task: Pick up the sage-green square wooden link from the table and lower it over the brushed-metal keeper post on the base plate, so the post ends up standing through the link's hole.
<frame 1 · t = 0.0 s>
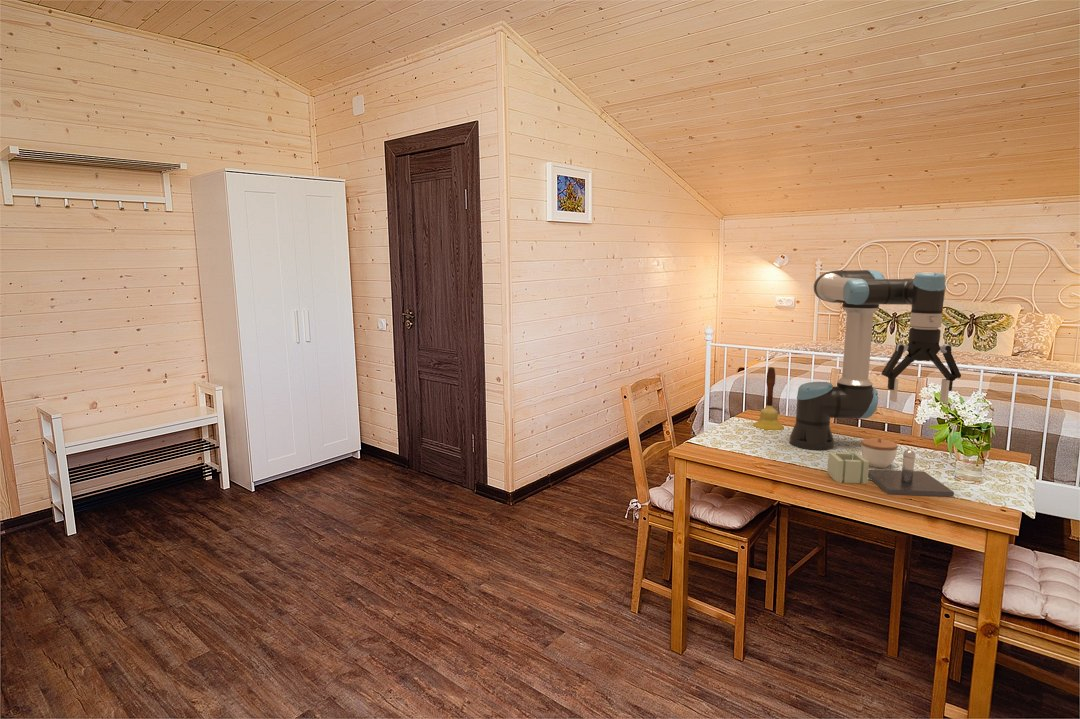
hand: (918, 401, 177), 28 cm above the table, tool pointing down, fingers open, 13 cm apart
square link: (846, 478, 195), on the table
lidded jar: (877, 465, 208), on the table
handbell: (768, 427, 256), on the table
keeper base: (906, 484, 189), on the table
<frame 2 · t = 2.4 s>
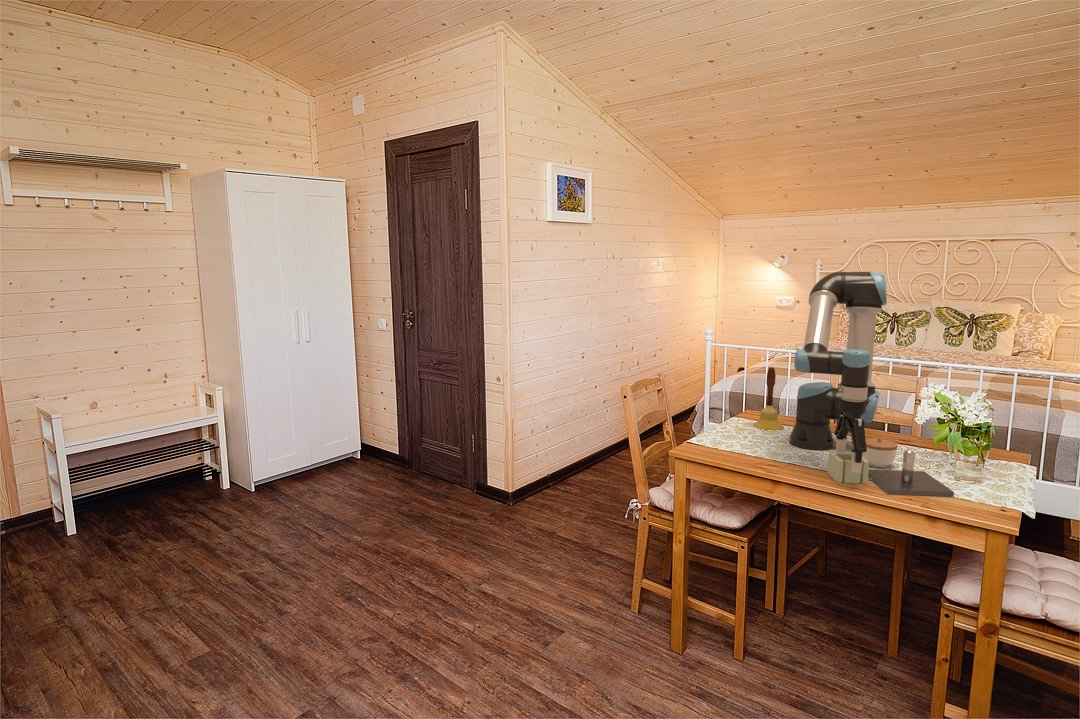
hand: (847, 465, 194), 4 cm above the table, tool pointing down, fingers open, 13 cm apart
nothing on the table moved.
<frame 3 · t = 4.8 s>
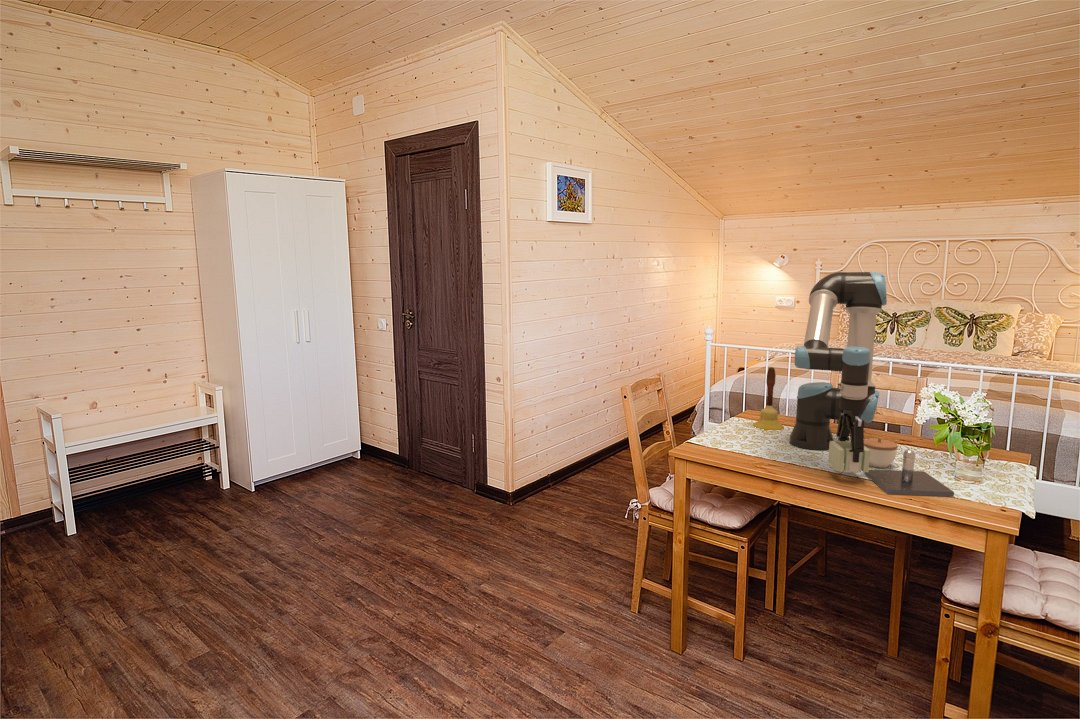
hand: (847, 465, 195), 4 cm above the table, tool pointing down, fingers closed on square link, 9 cm apart
square link: (847, 466, 195), point 4 cm above the table, touching gripper
everything else where it was.
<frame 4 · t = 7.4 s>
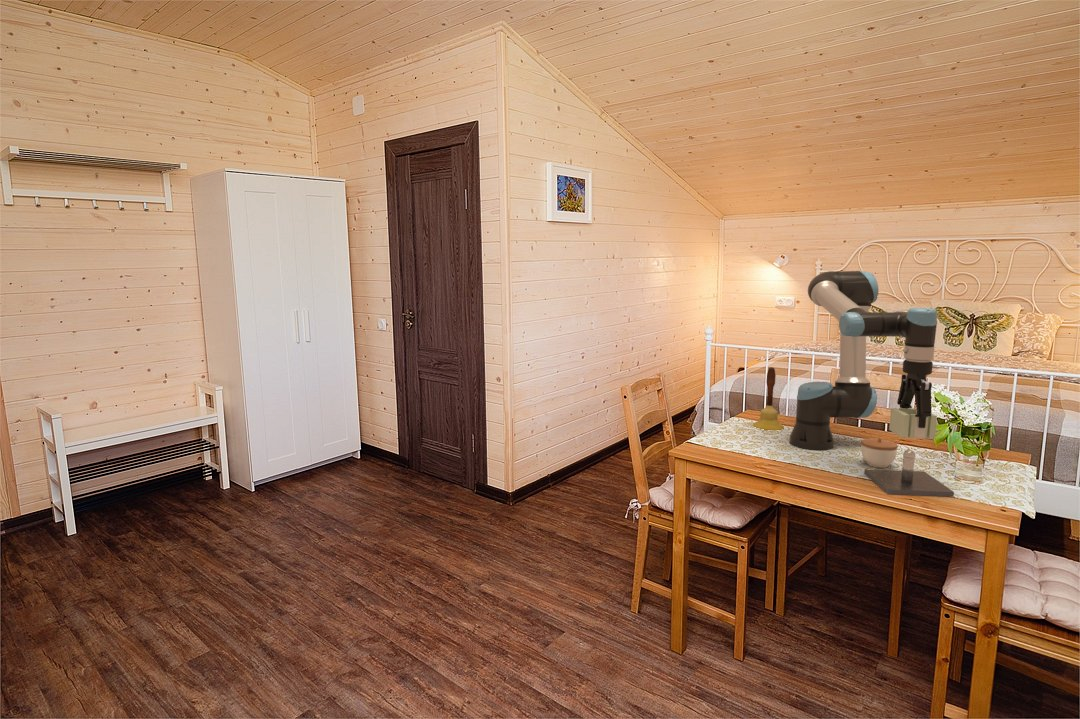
hand: (911, 433, 187), 16 cm above the table, tool pointing down, fingers closed on square link, 9 cm apart
square link: (911, 434, 187), point 16 cm above the table, touching gripper
everything else where it was.
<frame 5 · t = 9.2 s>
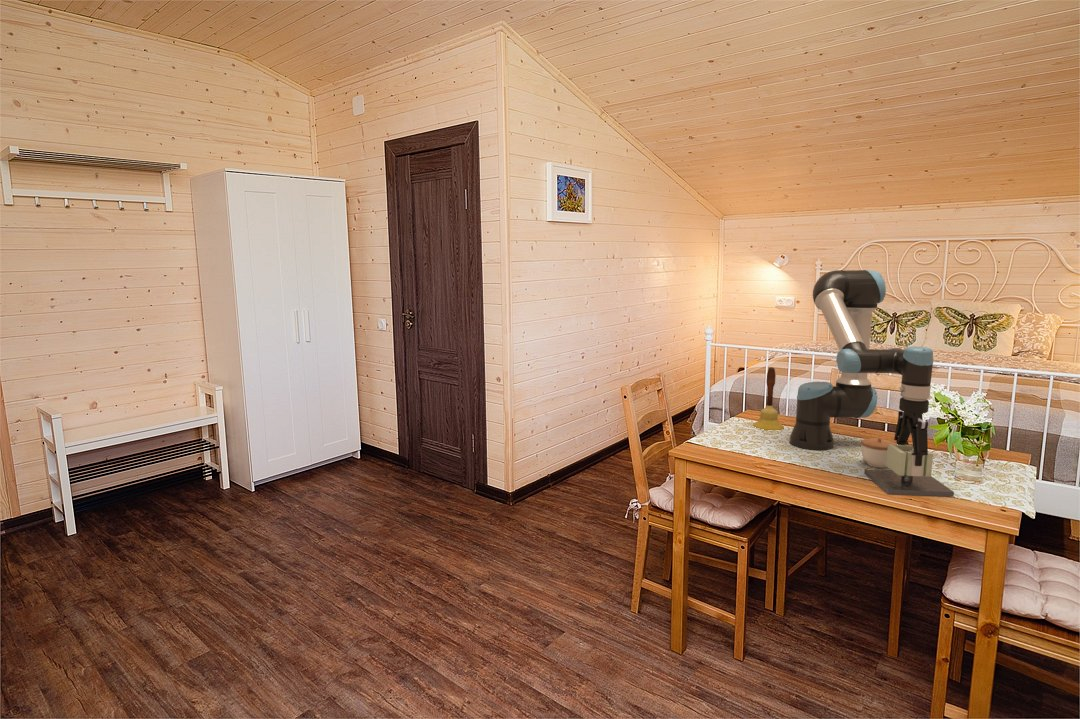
hand: (908, 470, 188), 5 cm above the table, tool pointing down, fingers closed on square link, 9 cm apart
square link: (907, 471, 188), point 4 cm above the table, touching gripper
everything else where it was.
when the fingers open (3 cm above the table, at t = 10.6 s): square link drops 1 cm, resting on keeper base.
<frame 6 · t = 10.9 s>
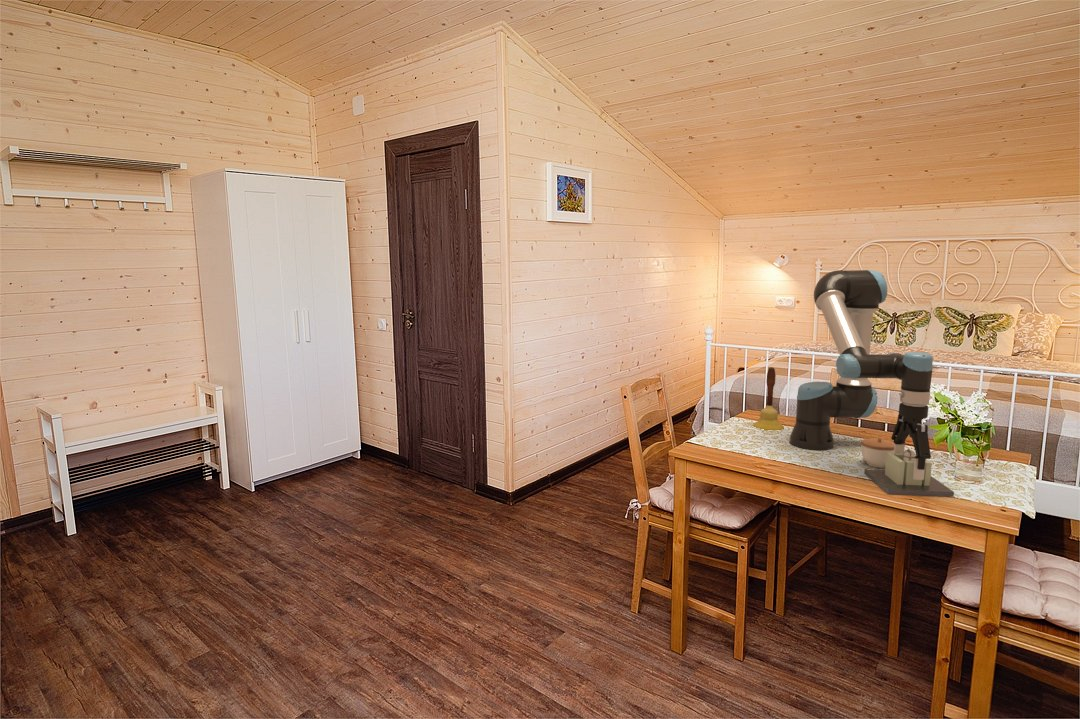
hand: (907, 471, 188), 4 cm above the table, tool pointing down, fingers open, 13 cm apart
square link: (906, 479, 189), point 1 cm above the table, touching keeper base
everything else where it was.
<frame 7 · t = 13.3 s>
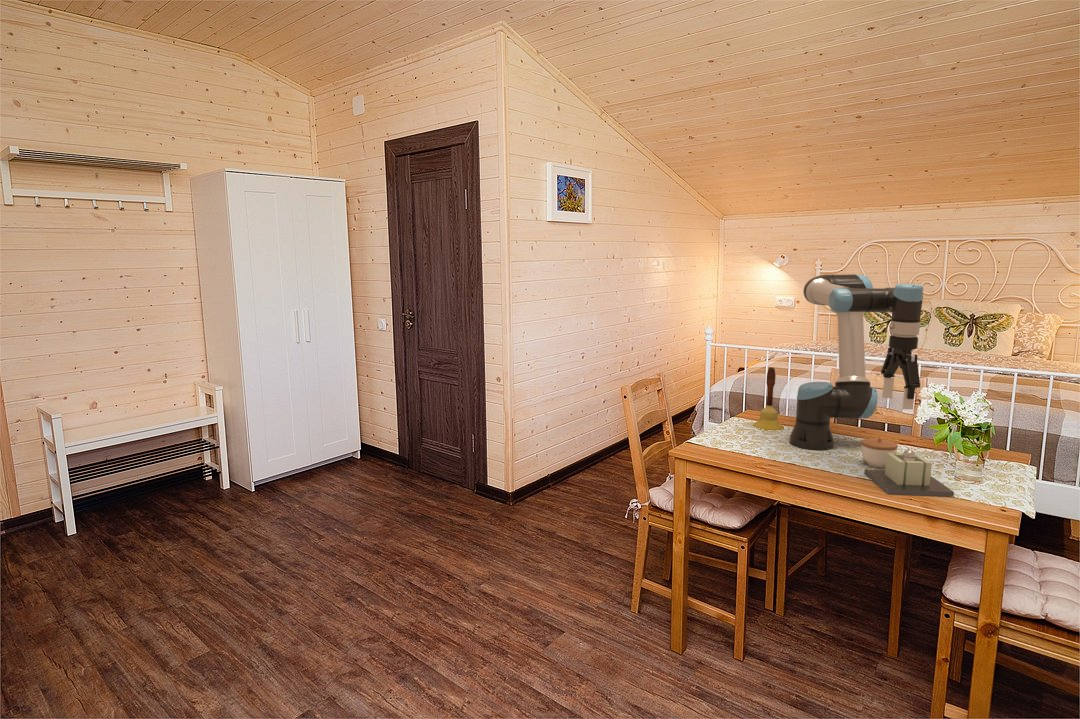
hand: (896, 403, 190), 24 cm above the table, tool pointing down, fingers open, 13 cm apart
nothing on the table moved.
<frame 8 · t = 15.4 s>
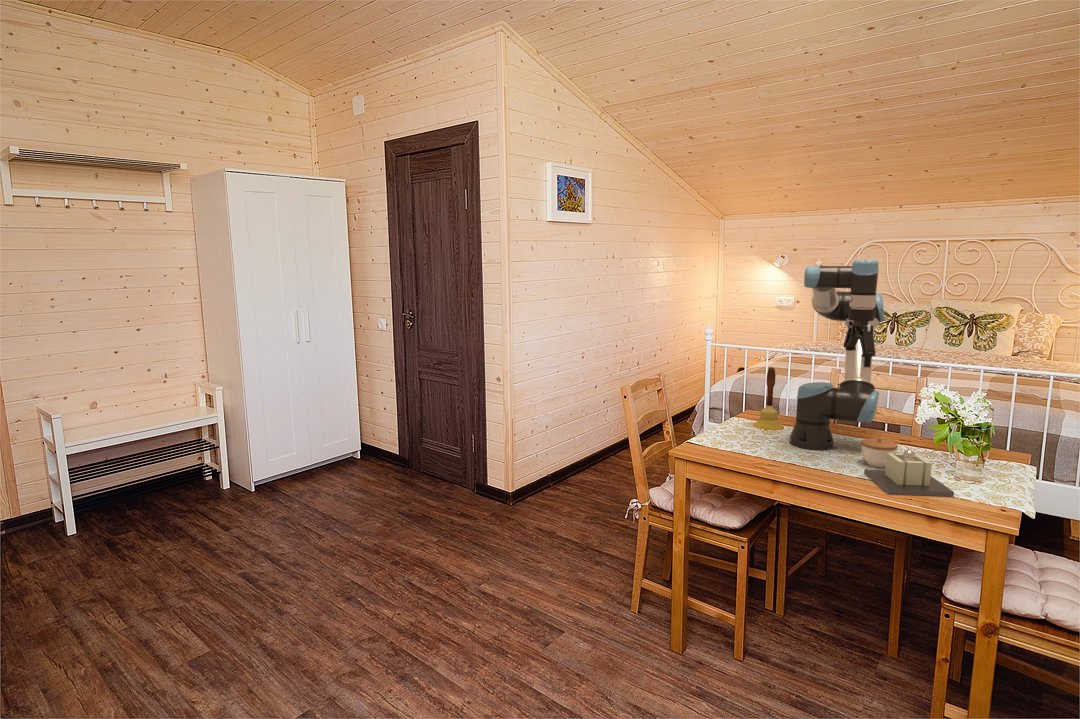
hand: (856, 373, 201), 32 cm above the table, tool pointing down, fingers open, 13 cm apart
nothing on the table moved.
at the end: square link 0.1 cm off-centre on the keeper base, point 1.5 cm above the keeper base's base; square link tilted 0°; the gripper is holding nothing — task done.
